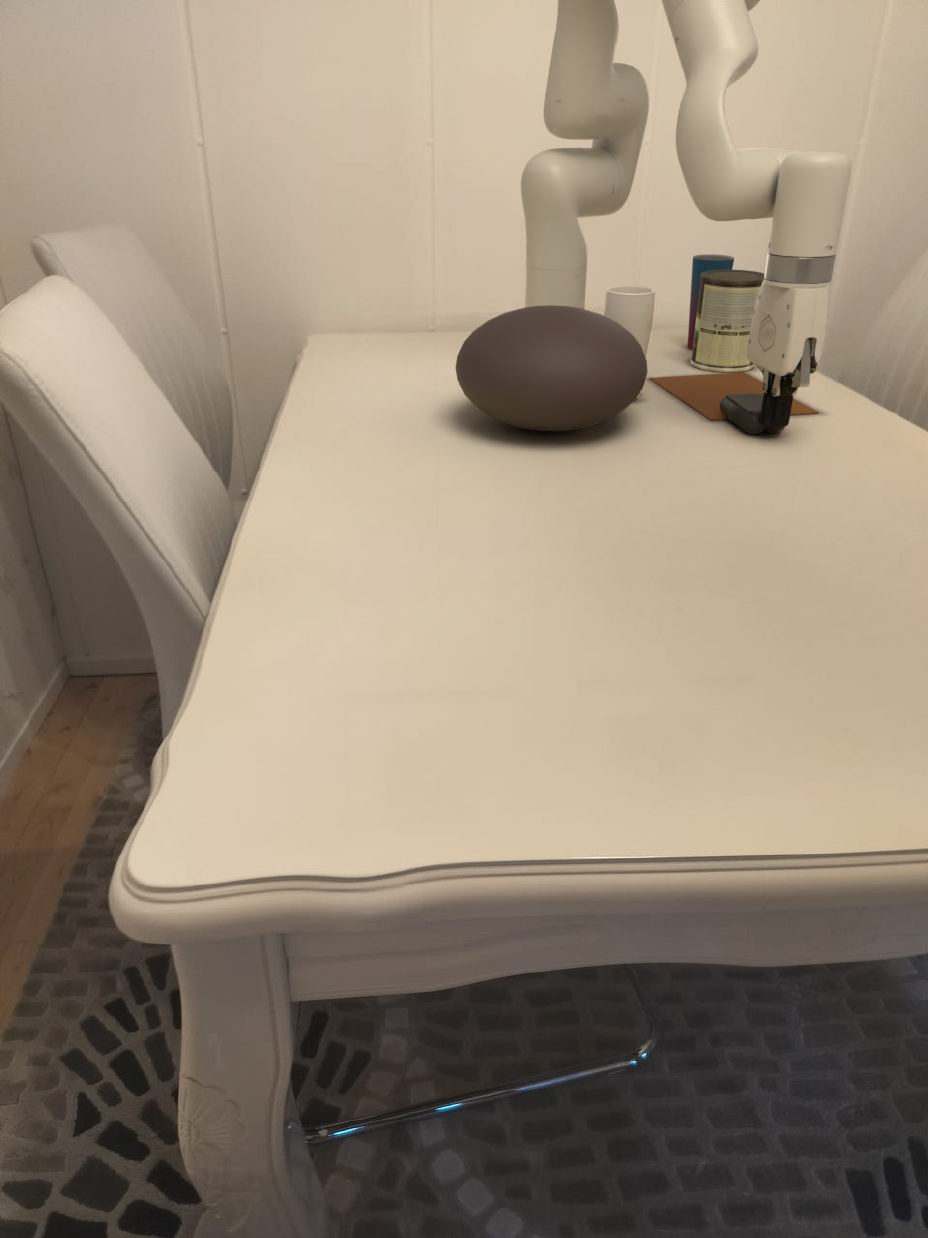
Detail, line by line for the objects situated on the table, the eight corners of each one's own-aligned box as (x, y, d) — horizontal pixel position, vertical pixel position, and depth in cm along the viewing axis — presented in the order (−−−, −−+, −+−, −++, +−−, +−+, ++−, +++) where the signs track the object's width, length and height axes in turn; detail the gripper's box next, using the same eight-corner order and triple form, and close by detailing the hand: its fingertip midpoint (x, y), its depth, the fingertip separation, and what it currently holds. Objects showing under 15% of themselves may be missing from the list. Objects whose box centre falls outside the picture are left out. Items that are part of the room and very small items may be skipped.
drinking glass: (648, 393, 131) (659, 286, 124) (640, 406, 126) (651, 295, 118) (602, 389, 133) (610, 284, 126) (593, 401, 128) (601, 292, 120)
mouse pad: (710, 420, 120) (711, 419, 120) (649, 378, 138) (649, 377, 138) (818, 413, 122) (819, 411, 122) (744, 373, 141) (744, 372, 141)
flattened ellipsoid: (602, 393, 131) (611, 287, 124) (672, 447, 110) (687, 323, 103) (439, 403, 127) (438, 294, 119) (479, 461, 106) (480, 333, 98)
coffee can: (678, 359, 149) (688, 270, 142) (733, 355, 152) (745, 267, 145) (709, 374, 141) (722, 280, 134) (766, 370, 143) (781, 277, 136)
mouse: (746, 438, 113) (750, 415, 112) (714, 413, 122) (717, 391, 120) (788, 435, 114) (793, 413, 113) (754, 410, 123) (757, 389, 121)
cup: (722, 353, 153) (735, 260, 146) (682, 351, 154) (693, 259, 147) (720, 344, 159) (733, 254, 152) (682, 342, 160) (692, 253, 153)
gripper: (739, 263, 109) (719, 410, 118) (802, 281, 96) (775, 445, 105) (795, 261, 110) (771, 407, 119) (865, 278, 97) (833, 440, 106)
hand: (773, 424), depth 112 cm, fingers closed
